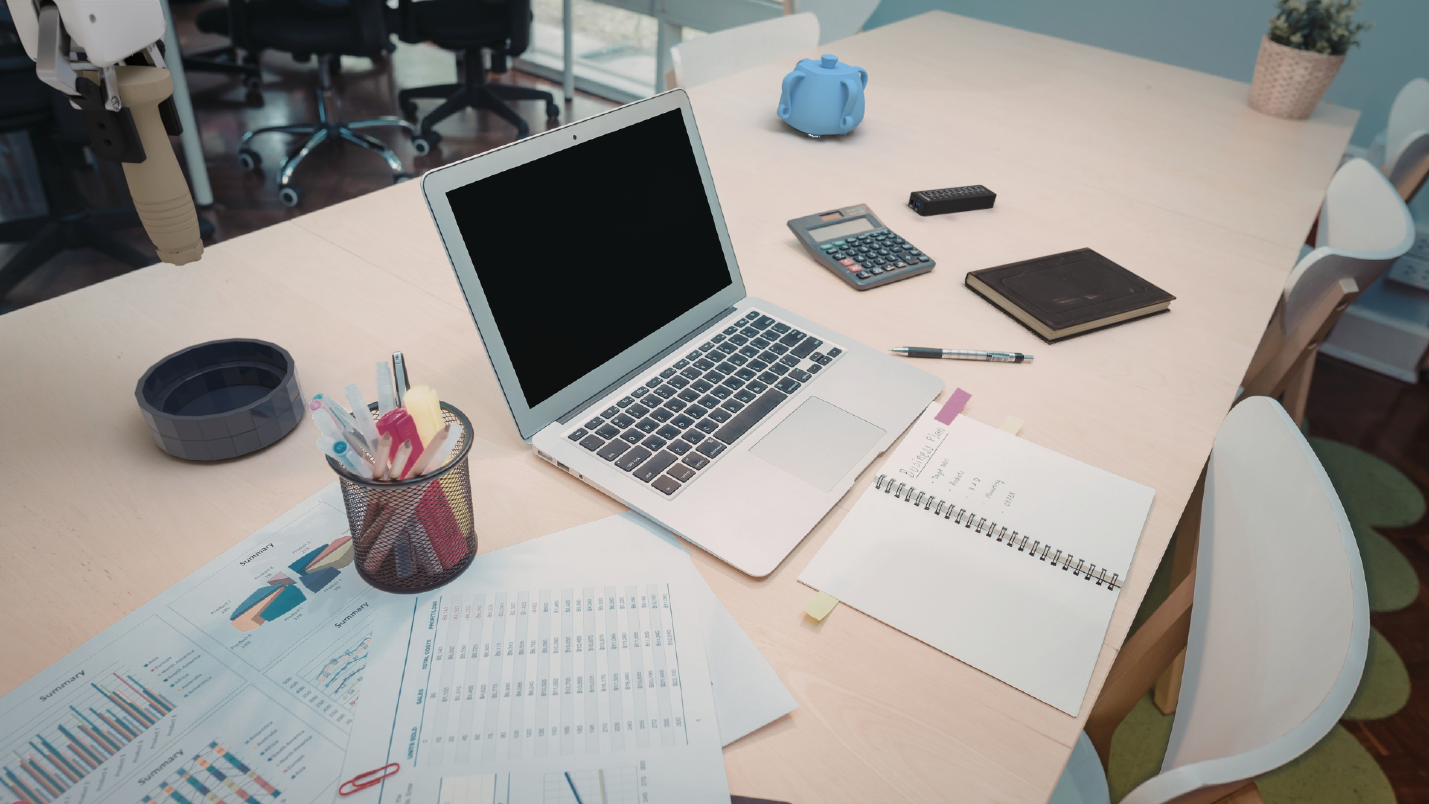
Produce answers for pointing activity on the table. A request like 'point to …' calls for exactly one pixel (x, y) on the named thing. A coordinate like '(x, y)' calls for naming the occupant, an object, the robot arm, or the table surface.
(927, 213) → the multiport hub
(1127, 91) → the table surface
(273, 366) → the bowl
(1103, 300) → the hardcover book
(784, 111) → the decorative pot
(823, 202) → the table surface
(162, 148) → the handle
